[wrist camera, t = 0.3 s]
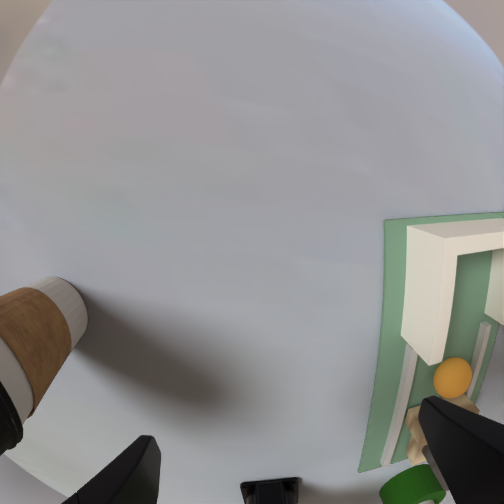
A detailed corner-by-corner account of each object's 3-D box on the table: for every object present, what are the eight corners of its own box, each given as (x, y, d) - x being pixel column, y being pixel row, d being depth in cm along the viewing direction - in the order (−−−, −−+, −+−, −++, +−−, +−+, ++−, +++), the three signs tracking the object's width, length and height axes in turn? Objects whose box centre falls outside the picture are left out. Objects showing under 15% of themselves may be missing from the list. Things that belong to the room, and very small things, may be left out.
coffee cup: (11, 278, 21) (-106, 350, 7) (74, 247, 21) (-75, 327, 6) (51, 359, 23) (-35, 462, 9) (118, 342, 23) (30, 480, 8)
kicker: (443, 438, 27) (472, 482, 18) (394, 455, 27) (419, 507, 18) (461, 390, 25) (501, 435, 17) (408, 409, 25) (444, 465, 17)
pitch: (459, 435, 28) (477, 460, 23) (357, 470, 28) (369, 503, 23) (509, 211, 21) (549, 220, 16) (383, 219, 21) (421, 232, 16)
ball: (453, 377, 25) (472, 398, 21) (422, 388, 25) (441, 411, 21) (461, 345, 24) (484, 365, 20) (430, 355, 24) (451, 377, 20)
